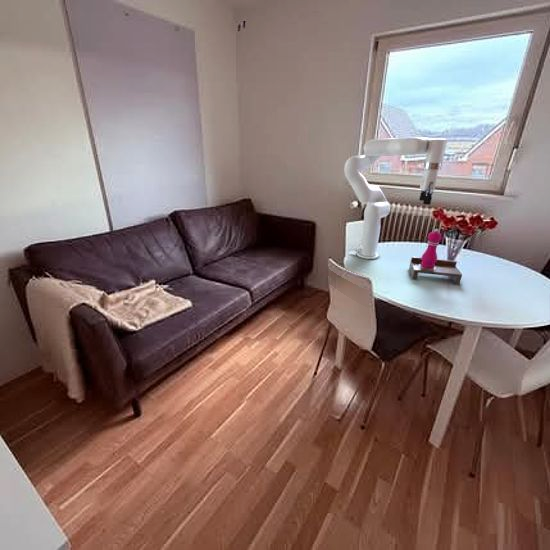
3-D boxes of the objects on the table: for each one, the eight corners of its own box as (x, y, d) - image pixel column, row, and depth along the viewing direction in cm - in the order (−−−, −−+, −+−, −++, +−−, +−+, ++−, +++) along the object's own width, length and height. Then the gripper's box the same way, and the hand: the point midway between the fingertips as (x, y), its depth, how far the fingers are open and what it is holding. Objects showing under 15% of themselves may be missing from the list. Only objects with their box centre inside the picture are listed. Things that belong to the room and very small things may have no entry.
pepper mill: (418, 267, 158) (427, 229, 150) (421, 262, 164) (430, 226, 155) (433, 270, 155) (443, 231, 146) (436, 266, 160) (445, 228, 152)
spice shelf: (412, 279, 158) (415, 265, 155) (408, 270, 169) (411, 256, 165) (459, 284, 154) (463, 270, 150) (452, 275, 164) (456, 261, 161)
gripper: (420, 164, 157) (413, 198, 164) (428, 167, 142) (419, 205, 149) (436, 165, 156) (428, 199, 163) (445, 168, 140) (436, 206, 148)
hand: (424, 202), depth 156 cm, fingers open, 9 cm apart
